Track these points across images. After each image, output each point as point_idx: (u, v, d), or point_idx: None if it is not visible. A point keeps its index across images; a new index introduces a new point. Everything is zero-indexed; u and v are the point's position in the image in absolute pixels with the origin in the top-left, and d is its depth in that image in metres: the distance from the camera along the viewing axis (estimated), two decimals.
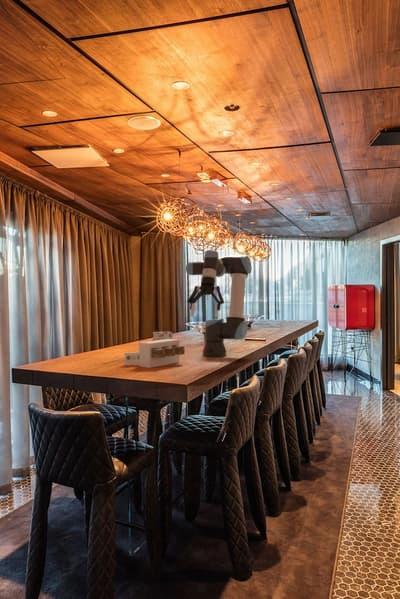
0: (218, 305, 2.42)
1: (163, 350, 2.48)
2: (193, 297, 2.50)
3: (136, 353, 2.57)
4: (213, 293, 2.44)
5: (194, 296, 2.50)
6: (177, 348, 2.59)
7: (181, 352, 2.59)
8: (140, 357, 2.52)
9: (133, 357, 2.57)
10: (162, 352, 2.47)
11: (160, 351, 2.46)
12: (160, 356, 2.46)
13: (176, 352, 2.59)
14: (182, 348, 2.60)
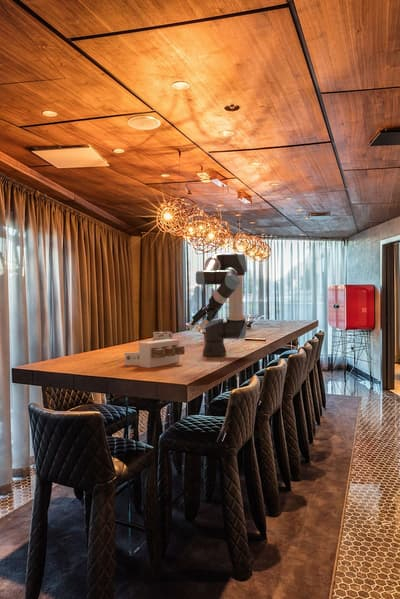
0: (207, 321, 2.55)
1: (163, 350, 2.48)
2: None
3: (136, 353, 2.57)
4: None
5: None
6: (177, 348, 2.59)
7: (181, 352, 2.59)
8: (140, 357, 2.52)
9: (133, 357, 2.57)
10: (162, 352, 2.47)
11: (160, 351, 2.46)
12: (160, 356, 2.46)
13: (176, 352, 2.59)
14: (182, 348, 2.60)
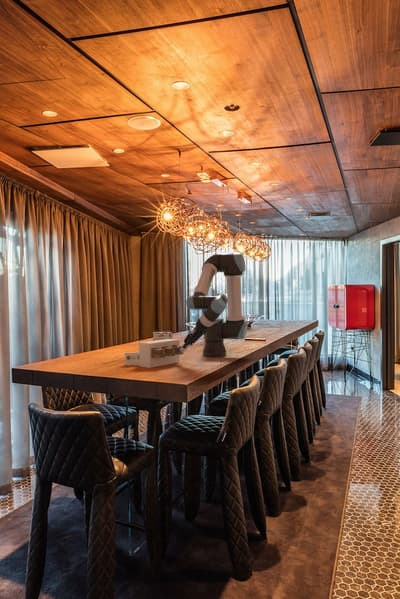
0: None
1: (163, 350, 2.48)
2: None
3: (136, 353, 2.57)
4: None
5: None
6: (176, 348, 2.59)
7: (180, 352, 2.60)
8: (140, 357, 2.52)
9: (133, 357, 2.57)
10: (162, 352, 2.47)
11: (160, 351, 2.46)
12: (160, 356, 2.46)
13: (175, 352, 2.60)
14: None
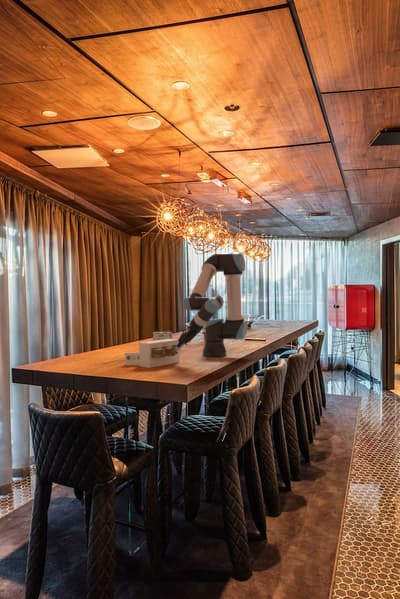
0: None
1: (163, 350, 2.48)
2: None
3: (136, 353, 2.57)
4: (192, 335, 2.57)
5: None
6: None
7: None
8: (140, 357, 2.52)
9: (133, 357, 2.57)
10: (162, 352, 2.47)
11: (160, 351, 2.46)
12: (160, 356, 2.46)
13: None
14: None
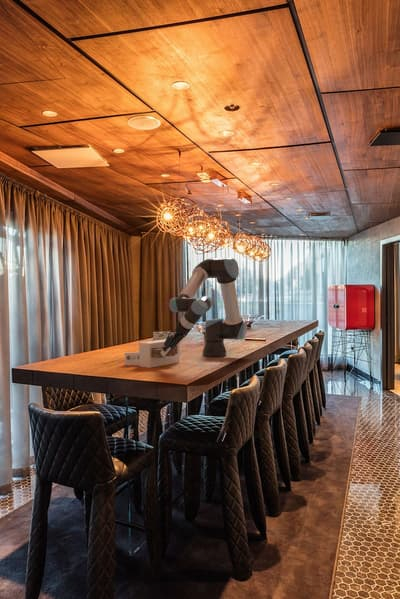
0: None
1: None
2: None
3: (136, 353, 2.57)
4: (178, 338, 2.41)
5: None
6: None
7: None
8: (140, 357, 2.52)
9: (133, 357, 2.57)
10: None
11: (159, 351, 2.47)
12: (159, 356, 2.47)
13: None
14: (174, 347, 2.64)
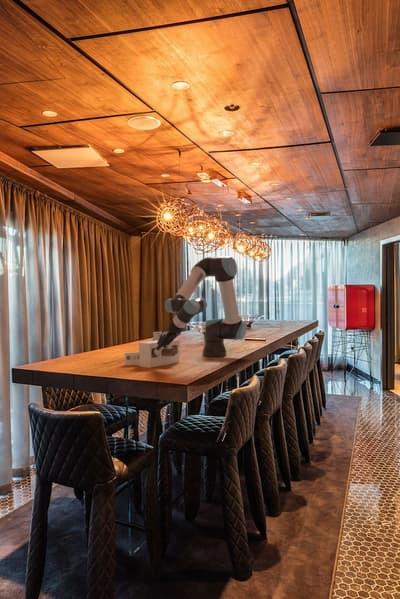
0: None
1: None
2: None
3: (136, 353, 2.57)
4: (171, 337, 2.45)
5: None
6: None
7: None
8: (140, 357, 2.52)
9: (133, 357, 2.57)
10: None
11: (152, 350, 2.50)
12: (152, 355, 2.50)
13: None
14: (174, 347, 2.64)
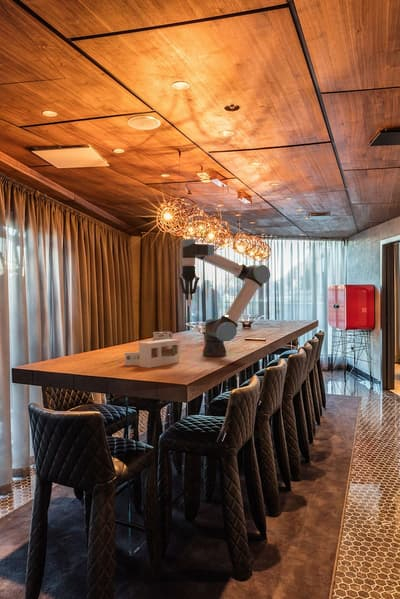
0: (191, 295, 2.72)
1: (155, 349, 2.52)
2: (183, 287, 2.72)
3: (136, 353, 2.57)
4: None
5: None
6: None
7: None
8: (140, 357, 2.52)
9: (133, 357, 2.57)
10: (154, 351, 2.51)
11: (152, 350, 2.50)
12: (152, 355, 2.50)
13: None
14: (174, 347, 2.64)
